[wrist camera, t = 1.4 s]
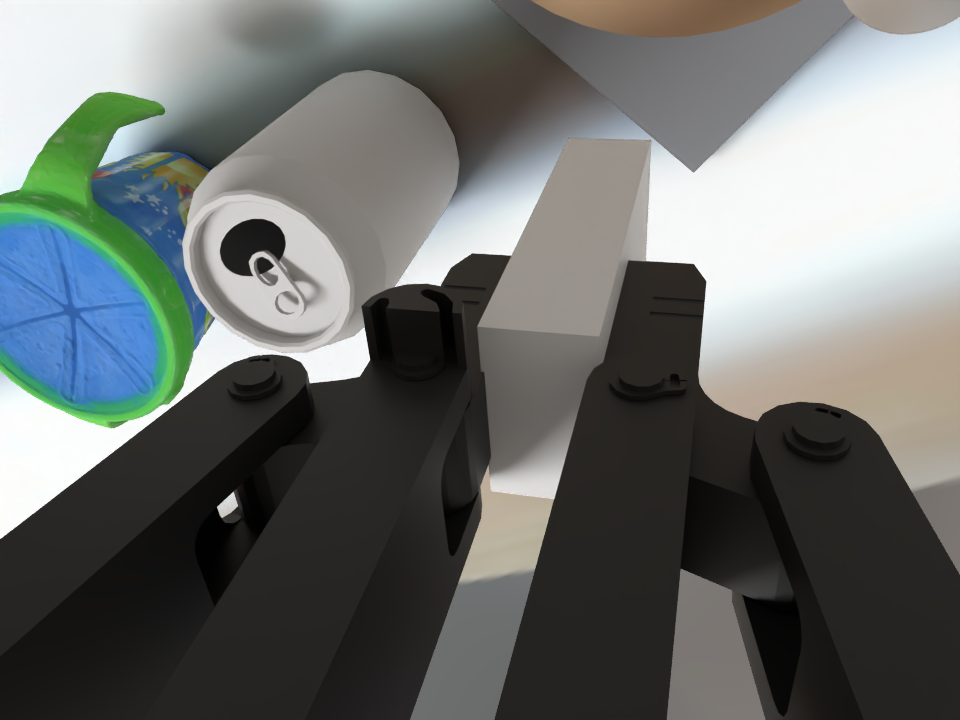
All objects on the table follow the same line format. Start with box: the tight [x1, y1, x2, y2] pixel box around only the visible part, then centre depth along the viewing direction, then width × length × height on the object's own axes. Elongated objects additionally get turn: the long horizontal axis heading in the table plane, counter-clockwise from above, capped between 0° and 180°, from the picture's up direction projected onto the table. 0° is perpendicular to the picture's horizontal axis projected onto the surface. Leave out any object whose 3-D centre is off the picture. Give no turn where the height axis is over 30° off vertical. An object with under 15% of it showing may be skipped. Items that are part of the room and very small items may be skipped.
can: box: [182, 70, 460, 353], centre depth 33 cm, size 8×8×12 cm
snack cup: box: [0, 92, 215, 428], centre depth 39 cm, size 16×10×10 cm
